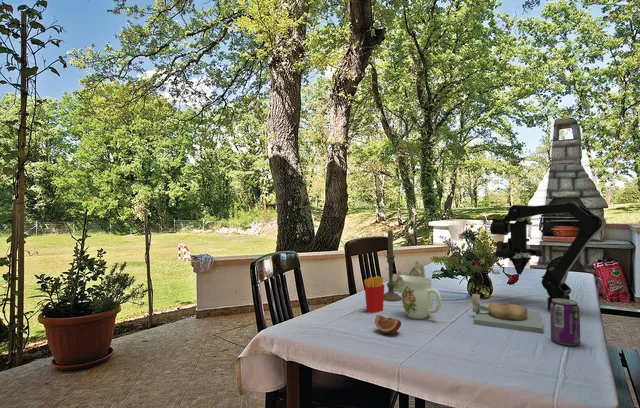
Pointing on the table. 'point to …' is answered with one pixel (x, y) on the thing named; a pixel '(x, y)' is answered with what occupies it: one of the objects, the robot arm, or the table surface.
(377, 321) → the fruit slice
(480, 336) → the table surface
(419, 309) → the pitcher
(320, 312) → the table surface
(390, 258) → the candlestick holder
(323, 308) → the table surface
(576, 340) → the beverage can
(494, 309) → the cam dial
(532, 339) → the table surface
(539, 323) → the slate base
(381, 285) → the french fries
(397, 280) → the ceramic cottage
